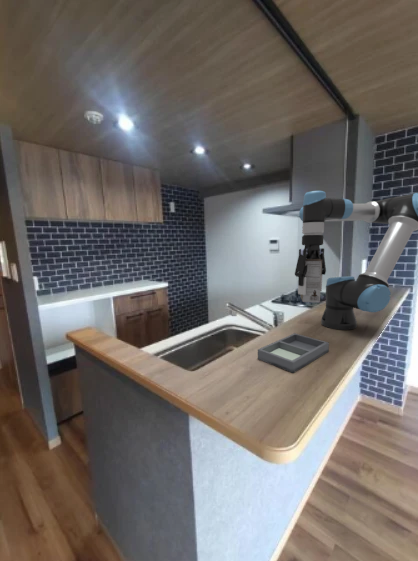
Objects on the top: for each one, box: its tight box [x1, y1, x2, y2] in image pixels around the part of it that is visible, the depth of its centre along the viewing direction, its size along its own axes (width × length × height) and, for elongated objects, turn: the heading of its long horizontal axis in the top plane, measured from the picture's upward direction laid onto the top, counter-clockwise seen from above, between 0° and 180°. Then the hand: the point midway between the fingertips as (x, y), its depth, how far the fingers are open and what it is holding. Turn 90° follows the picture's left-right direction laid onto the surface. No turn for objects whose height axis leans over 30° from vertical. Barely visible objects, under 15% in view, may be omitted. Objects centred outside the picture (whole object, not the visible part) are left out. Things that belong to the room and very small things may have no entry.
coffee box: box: [300, 258, 323, 303], centre depth 101 cm, size 9×6×16 cm
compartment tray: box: [257, 332, 330, 374], centre depth 94 cm, size 23×14×4 cm, turn 130°
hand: (310, 292), depth 101 cm, fingers closed on coffee box, 11 cm apart
